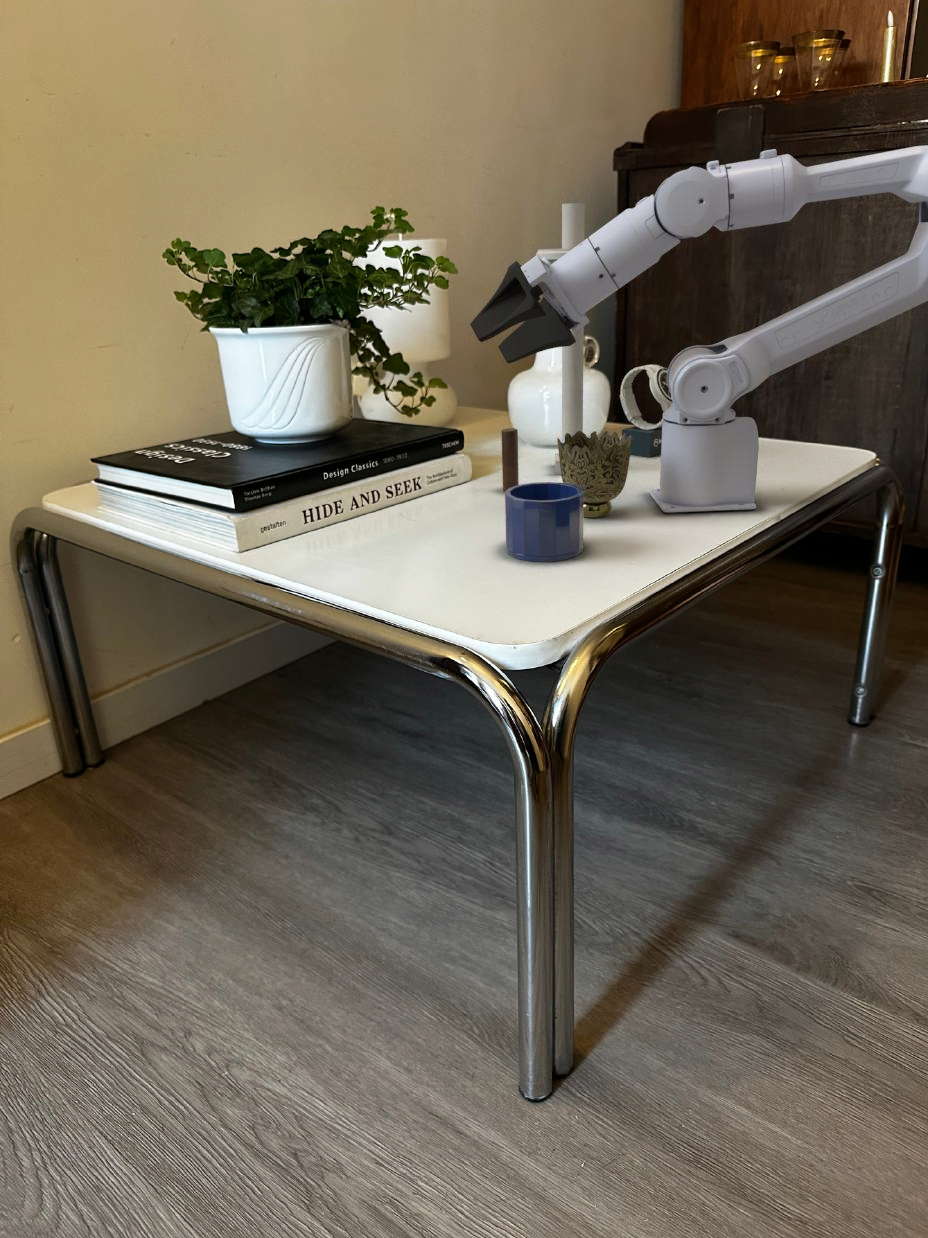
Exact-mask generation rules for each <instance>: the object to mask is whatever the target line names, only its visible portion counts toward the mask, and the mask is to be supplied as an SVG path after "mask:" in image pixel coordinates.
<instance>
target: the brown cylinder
mask: <svg viewBox="0 0 928 1238" xmlns="http://www.w3.org/2000/svg"><path fill="white" fill-rule="evenodd" d="M501 464H502V465H501V467H502V472H501V473H502V492H503V493H505V491H506V490H507V489H509V488H510V487H514V486H517V485H520V484H519V483H520V481H519V479H520V478H519V432H518V428H515V427H513V428H512V427H511V428H510V427H508V428H502V429H501Z"/></svg>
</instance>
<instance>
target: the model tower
mask: <svg viewBox="0 0 928 1238" xmlns="http://www.w3.org/2000/svg"><path fill="white" fill-rule="evenodd" d="M585 208H586V203H585V202H570V203H561V247H557V248H556V247H555V248H538V249H537V252H536V253H535V256H536V255H538V256H539V258H540V259H542V258H543V257H546V258H547V259H548V261H549V262H550V263H551V264H553V263H554V262H555V261H557V260H558V259H559V258H561V257H562V256H563V255H565V254H566V253H568V252H569V251H570V250H572V249H573V248H574V247H576V246H577V245H579V244H580V243H581V242H583V241H584V240H585V229H586V228H585V226H586V225H585V223H586V219H585V218H586V217H585V215H586V209H585ZM570 331H571V332H572V334H573V336H574V338H575V340H576V342H575V343H574V344H572V345H571V346H565V347H561V442H562V443H564V442H565V434H566V433H569V434H570V435H571V437H572V436H573V435H574V434H575V433H576V432H578V431H581V432H583V433H584V342H585V341H584V336H585V333H584V332H585V326H583V327H582V328H580V329H579V330H578V331H576V332H574V331H573V330H572V329H570ZM555 475H561V468H560V460H559V452H557V453H554V476H555Z"/></svg>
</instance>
